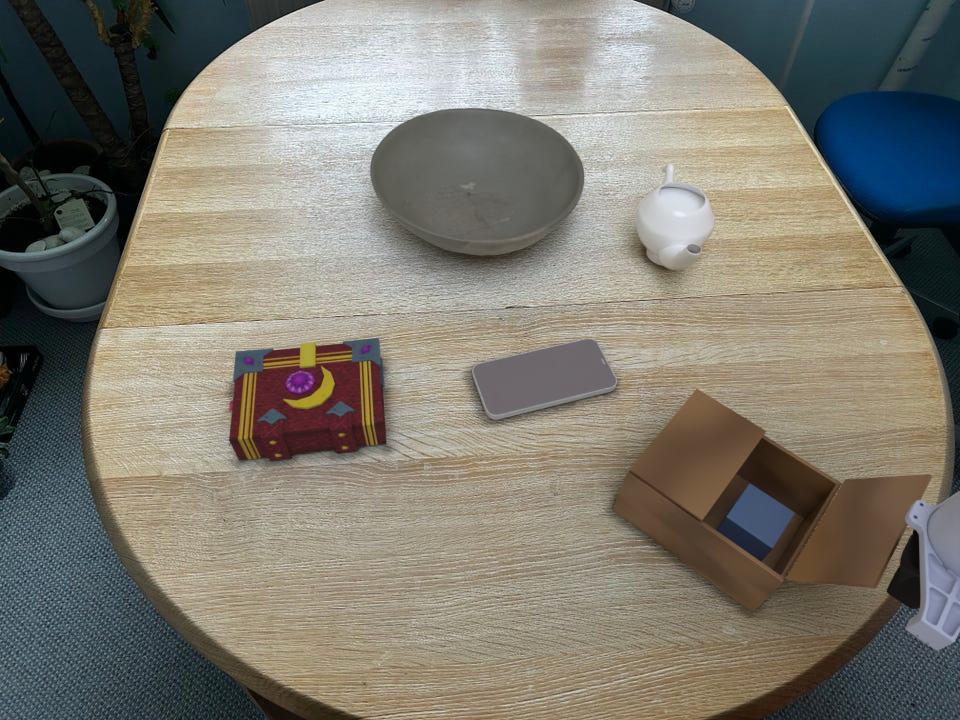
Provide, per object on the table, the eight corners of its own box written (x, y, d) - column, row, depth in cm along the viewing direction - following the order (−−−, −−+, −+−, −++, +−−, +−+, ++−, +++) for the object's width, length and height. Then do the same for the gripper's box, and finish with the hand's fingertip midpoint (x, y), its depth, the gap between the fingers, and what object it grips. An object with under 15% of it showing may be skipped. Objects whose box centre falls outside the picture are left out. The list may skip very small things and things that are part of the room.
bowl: (362, 286, 83) (354, 235, 77) (388, 153, 101) (383, 102, 94) (583, 294, 83) (593, 243, 77) (570, 159, 101) (578, 109, 94)
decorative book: (388, 448, 69) (384, 421, 65) (227, 467, 67) (212, 440, 63) (382, 362, 76) (378, 333, 72) (235, 377, 74) (223, 348, 70)
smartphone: (469, 364, 75) (594, 336, 78) (469, 369, 76) (593, 341, 78) (489, 418, 70) (620, 385, 73) (488, 423, 71) (619, 390, 74)
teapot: (688, 206, 94) (706, 149, 87) (714, 311, 82) (738, 255, 75) (619, 204, 94) (633, 146, 87) (635, 308, 82) (652, 251, 75)
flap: (844, 479, 59) (846, 481, 59) (785, 577, 53) (787, 580, 53) (930, 473, 52) (932, 476, 52) (873, 585, 47) (876, 588, 47)
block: (734, 504, 65) (749, 482, 62) (777, 533, 64) (795, 512, 60) (711, 537, 63) (726, 516, 60) (755, 568, 61) (772, 548, 58)
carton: (808, 519, 65) (845, 479, 59) (751, 612, 59) (786, 578, 53) (675, 433, 71) (696, 387, 65) (612, 509, 65) (628, 468, 59)
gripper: (984, 404, 45) (885, 497, 56) (908, 559, 38) (811, 632, 49) (1101, 465, 43) (973, 551, 53) (1042, 645, 36) (909, 702, 46)
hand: (902, 594), depth 51 cm, fingers closed
